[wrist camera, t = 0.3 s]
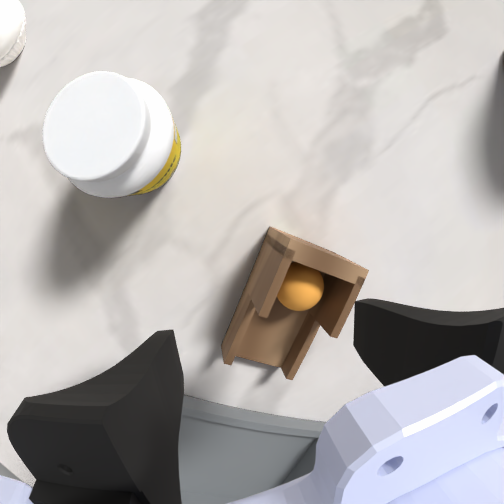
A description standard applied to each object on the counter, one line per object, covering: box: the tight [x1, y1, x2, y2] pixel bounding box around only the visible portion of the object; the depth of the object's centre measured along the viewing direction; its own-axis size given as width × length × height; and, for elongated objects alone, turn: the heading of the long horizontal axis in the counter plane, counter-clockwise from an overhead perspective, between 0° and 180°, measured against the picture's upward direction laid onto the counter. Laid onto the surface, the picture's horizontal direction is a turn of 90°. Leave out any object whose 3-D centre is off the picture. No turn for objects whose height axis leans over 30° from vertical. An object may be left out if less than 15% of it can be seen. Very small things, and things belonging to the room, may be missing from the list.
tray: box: [178, 395, 326, 504], centre depth 22 cm, size 18×14×4 cm
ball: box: [277, 262, 324, 311], centre depth 19 cm, size 3×3×3 cm
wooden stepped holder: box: [221, 227, 369, 380], centre depth 19 cm, size 5×9×5 cm, turn 158°
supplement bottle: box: [42, 71, 181, 198], centre depth 13 cm, size 5×5×10 cm
